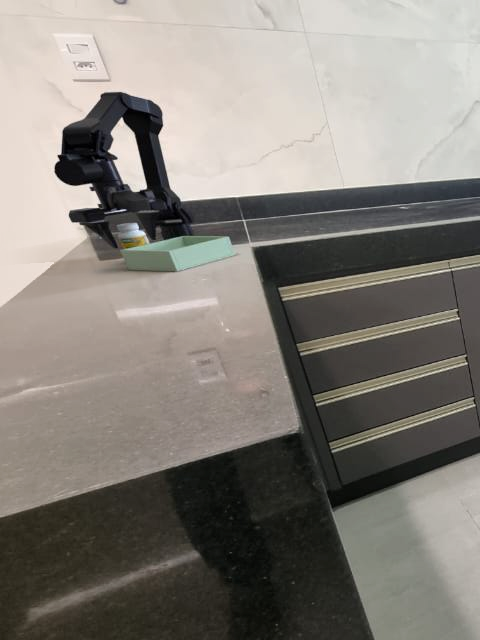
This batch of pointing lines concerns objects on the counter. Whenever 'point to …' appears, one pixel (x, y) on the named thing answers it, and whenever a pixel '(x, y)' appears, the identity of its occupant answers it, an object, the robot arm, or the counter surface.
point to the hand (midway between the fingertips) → (135, 244)
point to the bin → (177, 253)
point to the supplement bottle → (131, 235)
